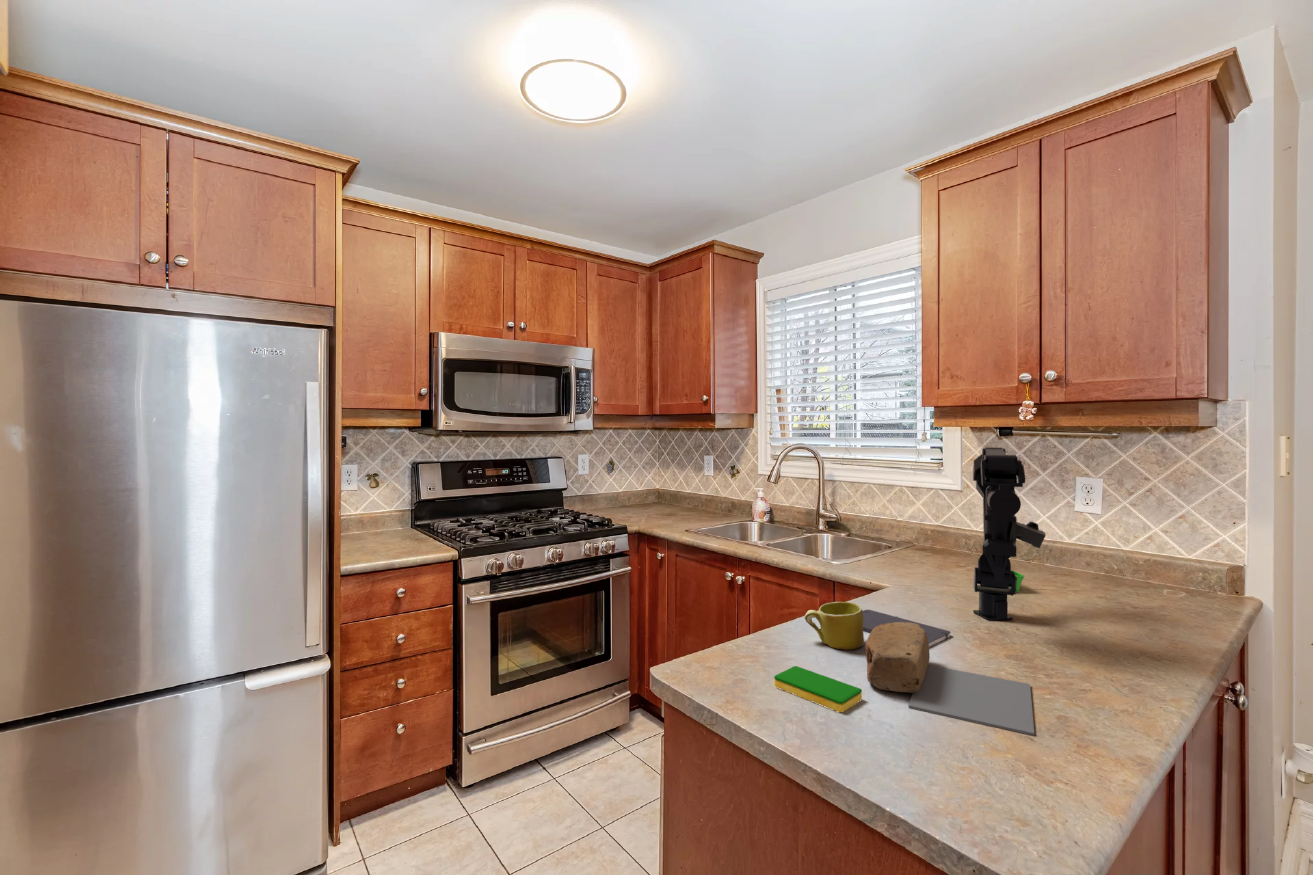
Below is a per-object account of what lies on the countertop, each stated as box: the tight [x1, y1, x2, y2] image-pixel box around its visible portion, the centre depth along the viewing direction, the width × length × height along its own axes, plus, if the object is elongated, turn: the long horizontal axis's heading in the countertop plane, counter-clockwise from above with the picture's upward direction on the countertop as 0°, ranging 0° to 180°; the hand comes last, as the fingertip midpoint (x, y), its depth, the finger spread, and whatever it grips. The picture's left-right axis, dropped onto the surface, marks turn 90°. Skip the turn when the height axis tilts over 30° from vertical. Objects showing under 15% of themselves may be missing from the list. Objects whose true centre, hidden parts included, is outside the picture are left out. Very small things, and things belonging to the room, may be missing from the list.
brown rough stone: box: [865, 622, 930, 694], centre depth 114 cm, size 11×8×20 cm
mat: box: [908, 664, 1035, 737], centre depth 105 cm, size 20×18×1 cm
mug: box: [804, 601, 865, 651], centre depth 130 cm, size 12×10×10 cm
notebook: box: [862, 609, 951, 648], centre depth 139 cm, size 13×2×21 cm
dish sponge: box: [773, 665, 863, 713], centre depth 106 cm, size 7×14×2 cm, turn 43°
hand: (999, 580), depth 133 cm, fingers closed
